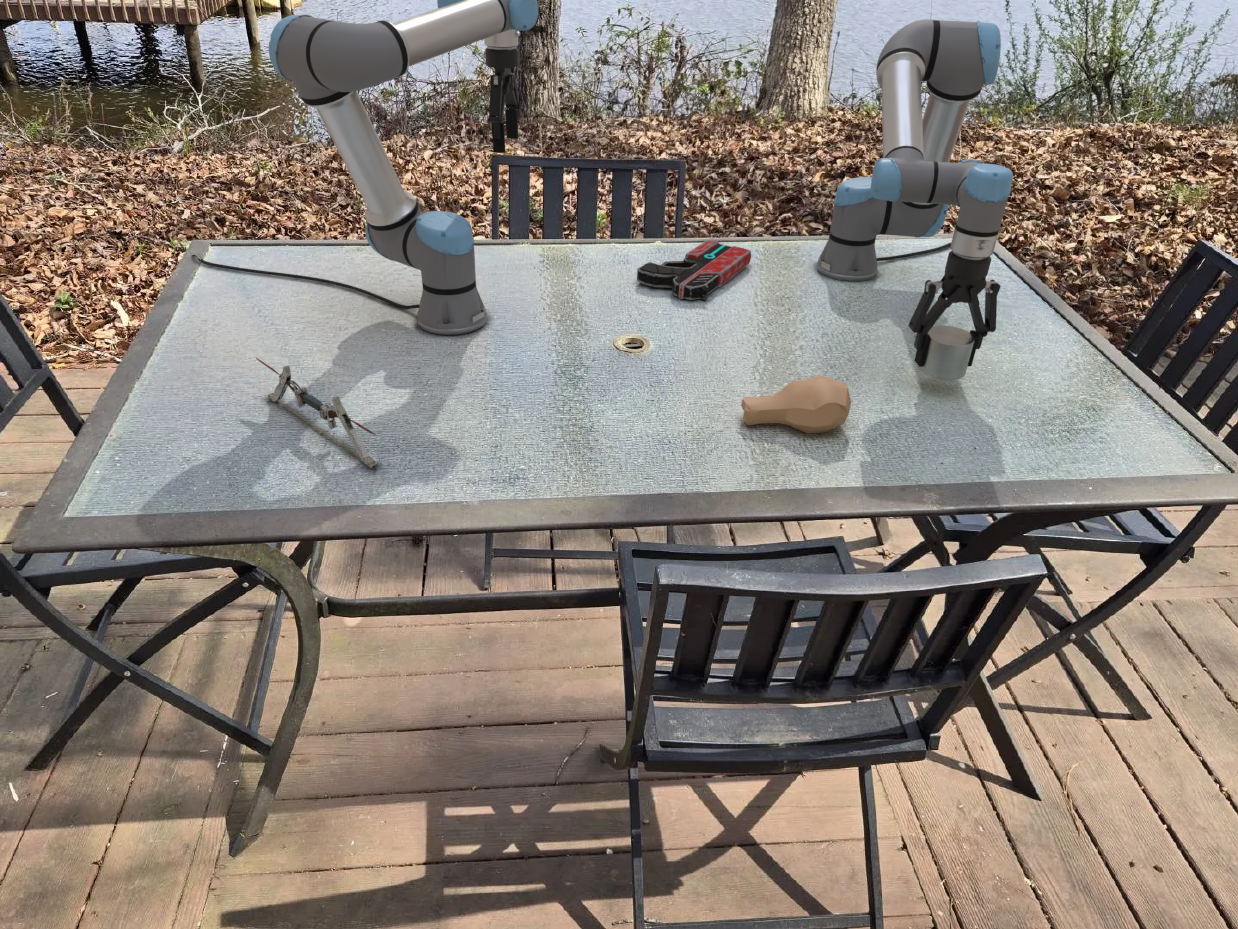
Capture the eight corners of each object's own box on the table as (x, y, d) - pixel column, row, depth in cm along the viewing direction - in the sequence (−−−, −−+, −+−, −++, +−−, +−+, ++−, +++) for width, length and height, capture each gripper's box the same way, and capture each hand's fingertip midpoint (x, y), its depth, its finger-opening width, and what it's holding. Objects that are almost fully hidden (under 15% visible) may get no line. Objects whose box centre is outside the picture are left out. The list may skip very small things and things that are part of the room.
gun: (631, 269, 213) (702, 288, 206) (689, 232, 235) (755, 248, 228) (630, 286, 216) (701, 306, 208) (688, 248, 238) (753, 264, 230)
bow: (387, 470, 147) (379, 419, 141) (378, 475, 146) (370, 423, 140) (269, 391, 168) (258, 344, 163) (260, 394, 167) (249, 347, 162)
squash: (855, 440, 159) (859, 402, 153) (745, 448, 161) (744, 411, 155) (845, 401, 167) (848, 364, 161) (739, 410, 169) (739, 373, 163)
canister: (970, 366, 175) (979, 332, 171) (958, 384, 169) (968, 349, 165) (924, 355, 179) (933, 321, 175) (911, 372, 173) (920, 337, 169)
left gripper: (505, 56, 186) (509, 159, 198) (529, 39, 207) (532, 133, 219) (470, 55, 187) (477, 157, 199) (498, 38, 207) (502, 131, 219)
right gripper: (920, 260, 157) (895, 372, 169) (1037, 260, 159) (1004, 371, 171) (905, 246, 163) (882, 355, 176) (1018, 246, 165) (988, 354, 177)
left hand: (506, 144), depth 209 cm, fingers open, 13 cm apart
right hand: (942, 363), depth 173 cm, fingers closed on canister, 9 cm apart
